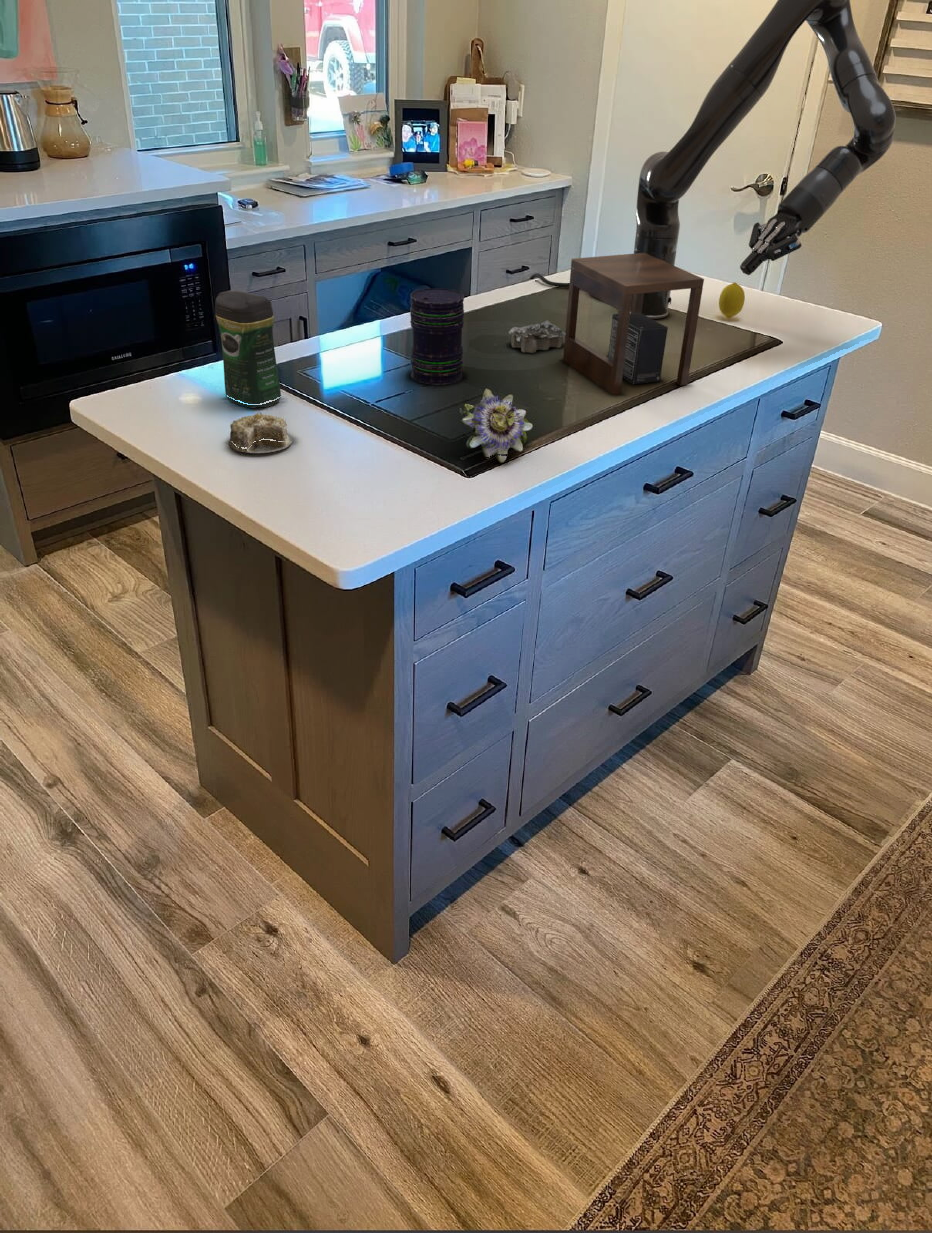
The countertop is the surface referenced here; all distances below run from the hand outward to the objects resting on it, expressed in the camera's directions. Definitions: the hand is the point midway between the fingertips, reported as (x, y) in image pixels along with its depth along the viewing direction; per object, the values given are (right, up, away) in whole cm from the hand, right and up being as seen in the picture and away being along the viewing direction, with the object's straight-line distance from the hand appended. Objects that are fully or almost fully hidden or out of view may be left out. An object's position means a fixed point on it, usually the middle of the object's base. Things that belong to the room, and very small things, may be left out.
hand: (743, 271), depth 181 cm
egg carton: (-39, -10, +14) cm, 43 cm away
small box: (-21, -20, +1) cm, 29 cm away
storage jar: (-59, -21, -2) cm, 63 cm away
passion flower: (-49, -40, -30) cm, 70 cm away
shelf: (-23, -19, +2) cm, 30 cm away
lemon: (+6, +1, +33) cm, 33 cm away
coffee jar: (-91, -28, -15) cm, 96 cm away
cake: (-86, -39, -30) cm, 99 cm away
